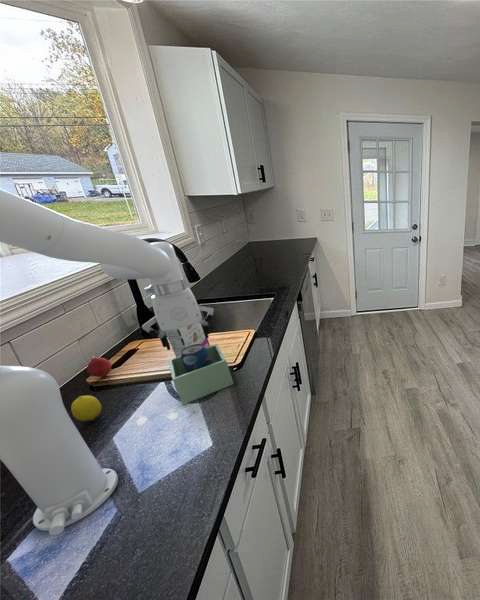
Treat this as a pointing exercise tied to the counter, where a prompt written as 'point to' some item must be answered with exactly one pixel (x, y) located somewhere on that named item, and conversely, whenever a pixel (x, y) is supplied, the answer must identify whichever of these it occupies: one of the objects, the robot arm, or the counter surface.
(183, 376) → the bin
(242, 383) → the counter surface
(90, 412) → the lemon
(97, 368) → the onion
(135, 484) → the counter surface
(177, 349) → the candy bar box
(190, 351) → the soda can
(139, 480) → the counter surface
